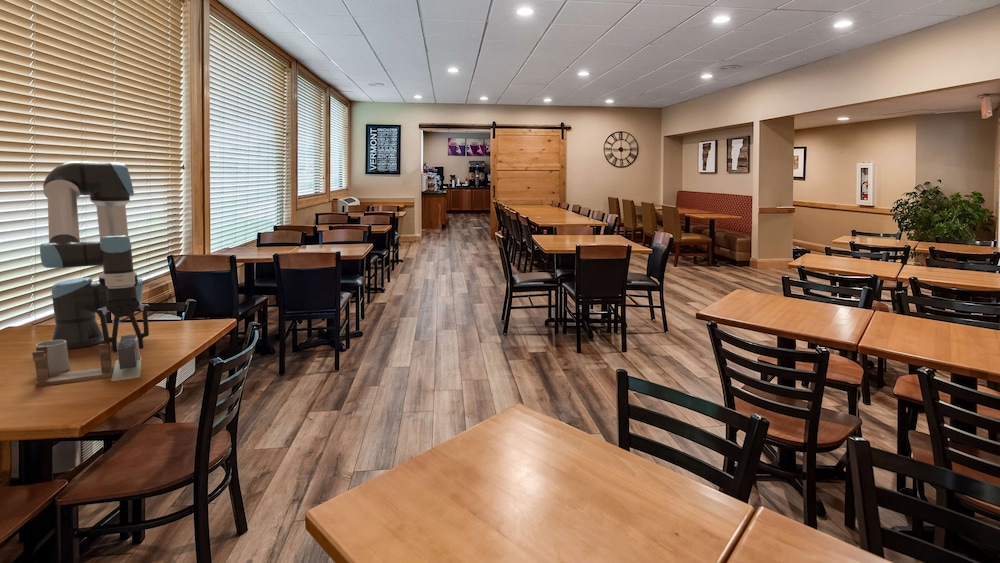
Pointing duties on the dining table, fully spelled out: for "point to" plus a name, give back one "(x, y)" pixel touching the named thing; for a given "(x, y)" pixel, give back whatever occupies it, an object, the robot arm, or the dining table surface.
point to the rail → (127, 352)
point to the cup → (56, 355)
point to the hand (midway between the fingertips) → (129, 360)
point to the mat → (126, 372)
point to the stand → (72, 376)
